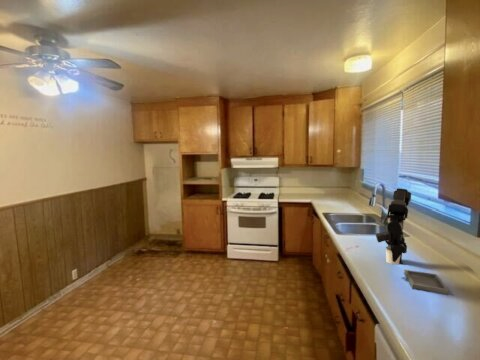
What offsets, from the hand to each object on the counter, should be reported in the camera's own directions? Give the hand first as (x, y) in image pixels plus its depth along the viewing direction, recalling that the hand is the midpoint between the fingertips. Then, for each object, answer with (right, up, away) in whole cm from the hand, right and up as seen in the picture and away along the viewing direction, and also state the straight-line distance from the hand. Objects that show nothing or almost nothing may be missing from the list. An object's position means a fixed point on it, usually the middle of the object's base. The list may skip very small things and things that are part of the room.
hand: (392, 259), depth 137 cm
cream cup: (0, -2, 0) cm, 2 cm away
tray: (+12, -10, -5) cm, 17 cm away
